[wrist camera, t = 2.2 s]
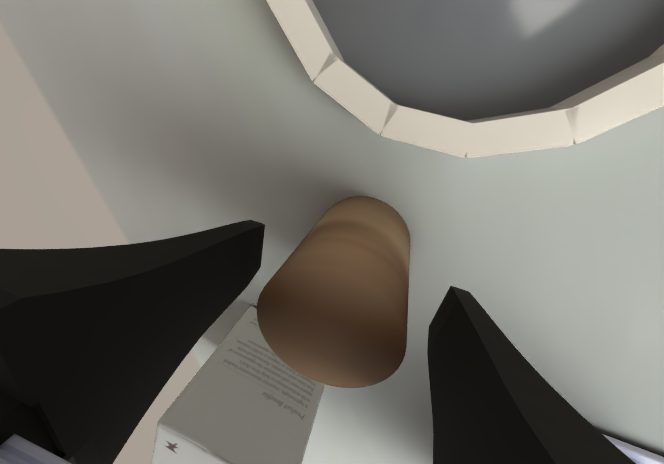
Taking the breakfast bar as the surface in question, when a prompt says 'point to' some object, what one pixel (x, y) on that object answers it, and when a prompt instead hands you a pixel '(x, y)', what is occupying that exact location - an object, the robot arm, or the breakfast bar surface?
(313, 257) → the walnut cylinder
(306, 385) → the skincare box
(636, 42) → the round tray
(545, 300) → the breakfast bar surface
